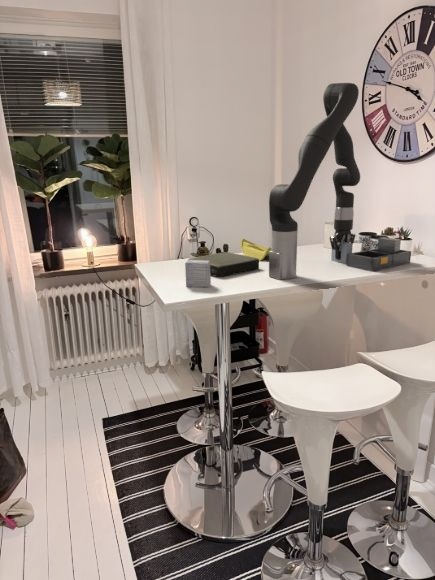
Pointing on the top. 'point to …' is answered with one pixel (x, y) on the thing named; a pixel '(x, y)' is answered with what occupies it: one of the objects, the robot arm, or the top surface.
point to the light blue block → (342, 252)
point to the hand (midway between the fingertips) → (341, 258)
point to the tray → (380, 256)
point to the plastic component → (254, 250)
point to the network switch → (229, 263)
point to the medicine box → (197, 273)
